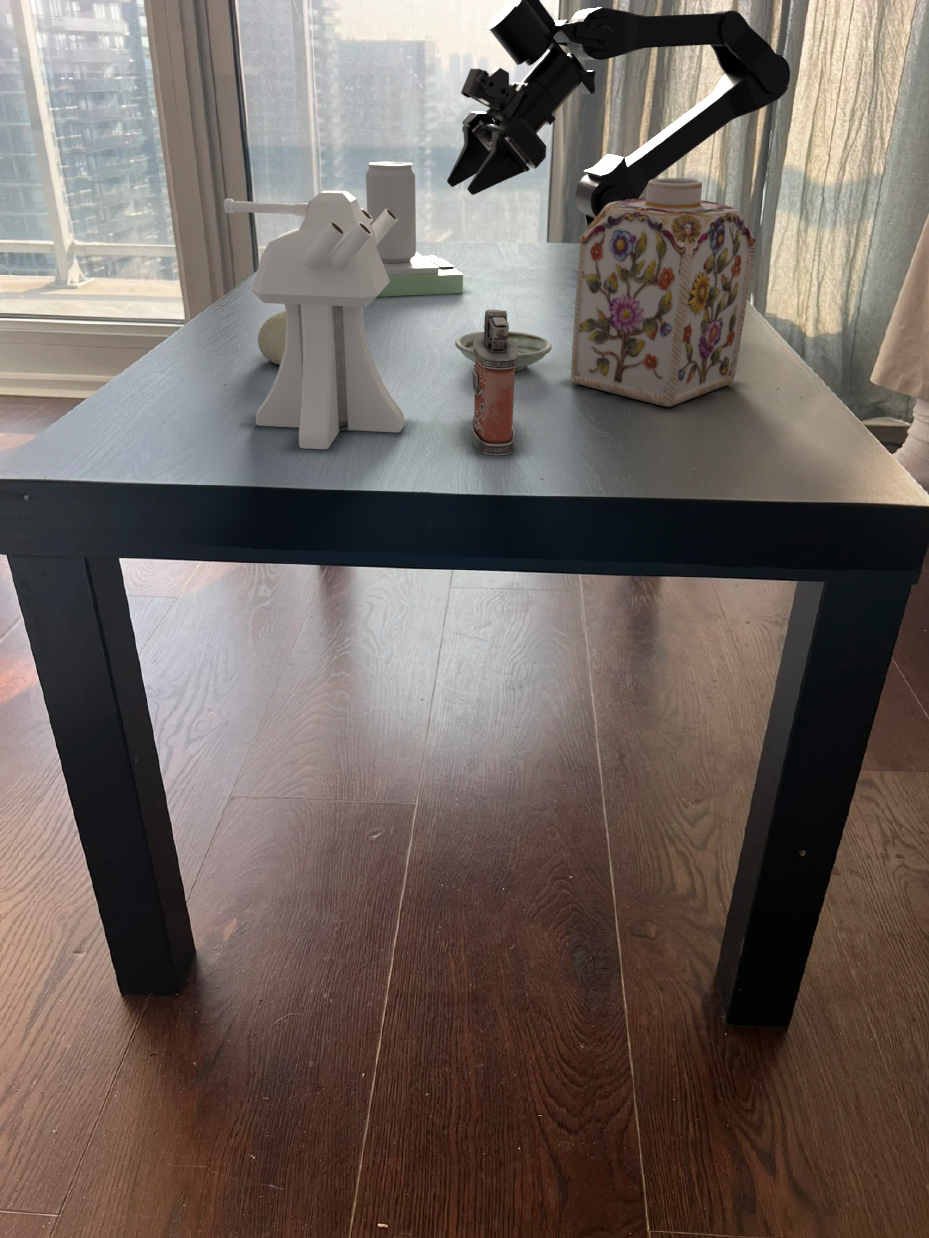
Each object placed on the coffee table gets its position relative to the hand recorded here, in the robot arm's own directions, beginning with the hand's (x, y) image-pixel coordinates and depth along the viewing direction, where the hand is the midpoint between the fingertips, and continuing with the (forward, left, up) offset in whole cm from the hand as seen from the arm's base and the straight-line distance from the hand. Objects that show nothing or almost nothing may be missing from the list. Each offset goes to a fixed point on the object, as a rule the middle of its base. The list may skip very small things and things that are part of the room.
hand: (459, 188), depth 130 cm
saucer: (-4, +43, -12) cm, 45 cm away
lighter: (-2, +65, -12) cm, 66 cm away
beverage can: (+9, +3, -9) cm, 13 cm away
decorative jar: (-18, +49, -12) cm, 54 cm away
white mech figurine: (+12, +62, -12) cm, 64 cm away
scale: (+9, +3, -12) cm, 15 cm away
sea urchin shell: (+16, +42, -12) cm, 47 cm away
